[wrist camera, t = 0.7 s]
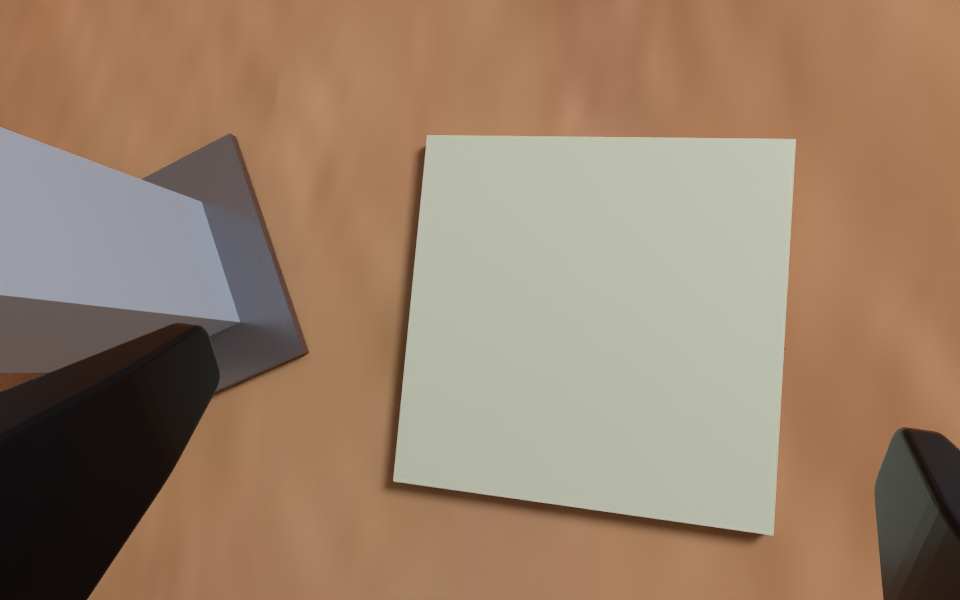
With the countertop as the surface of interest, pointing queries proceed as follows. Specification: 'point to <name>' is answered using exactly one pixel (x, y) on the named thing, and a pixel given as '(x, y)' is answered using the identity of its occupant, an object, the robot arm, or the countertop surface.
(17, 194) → the gray pillar with knob
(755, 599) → the countertop surface
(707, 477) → the mat
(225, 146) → the grey square base plate
